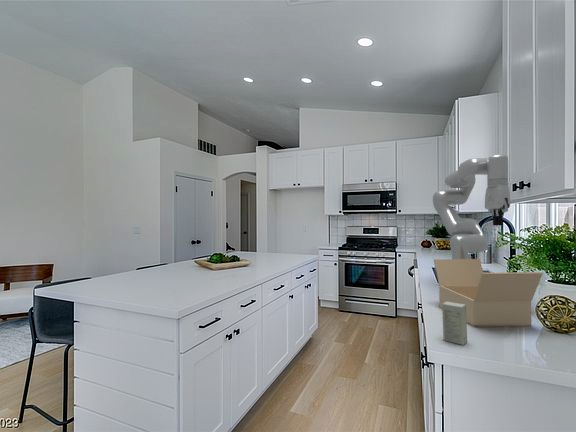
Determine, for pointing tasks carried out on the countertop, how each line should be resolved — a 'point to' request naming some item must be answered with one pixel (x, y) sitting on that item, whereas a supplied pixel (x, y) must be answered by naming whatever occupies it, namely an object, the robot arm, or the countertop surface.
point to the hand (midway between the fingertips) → (497, 225)
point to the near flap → (458, 271)
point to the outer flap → (507, 286)
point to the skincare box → (454, 322)
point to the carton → (487, 308)
